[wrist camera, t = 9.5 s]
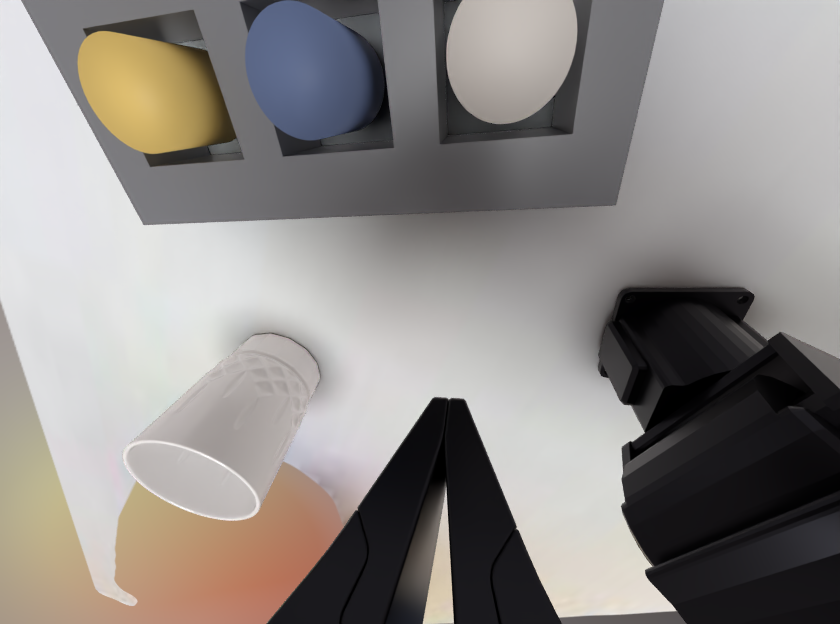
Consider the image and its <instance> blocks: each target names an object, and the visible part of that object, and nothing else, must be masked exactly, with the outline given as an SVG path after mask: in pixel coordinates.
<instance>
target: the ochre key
mask: <svg viewBox="0 0 840 624" xmlns="http://www.w3.org/2000/svg"><path fill="white" fill-rule="evenodd" d="M78 73H79V79H80V82H81V86H82V88H83V91H84V94H85V96H86V98H87V100H88V102H89V104H90V106H91V107H92V109H93V111H94V112H95V114H96V115H97V117H98V118H99V119H100V121H101V122H102V123H103V124H104V126H105V127H106V128H107V129H108V130H109V131H110V132H111V133H112V134H113V135H114V136H115V137H117V138H118V139H119V140H120V141H122V142H123V143H125V144H126V145H128V146H130V147H131V148H133V149H135V150H138V151H141V152H144V153H149V154H158V153H164V152H171V151H177V150H183V149H189V148H196V147H202V146H208V145H214V144H221V143H227V142H230V141H233V140H234V139H236V138H237V136H236V133H235V130H234V127H233V124H232V121H231V118H230V116H229V113H228V110H227V107H226V104H225V101H224V98H223V95H222V92H221V89H220V86H219V83H218V80H217V77H216V74H215V71H214V68H213V65H212V63H211V60H210V57H209V54H208V51H206V50H202V49H198V48H193V47H188V46H183V45H178V44H173V43H167V42H162V41H157V40H152V39H147V38H142V37H136V36H131V35H126V34H121V33H116V32H110V31H98V32H95V33H92V34H91V35H89V36H88V37H87V38H86V39H84V41H83V43H82V44H81V46H80V49H79V53H78Z"/></svg>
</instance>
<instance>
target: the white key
mask: <svg viewBox="0 0 840 624" xmlns="http://www.w3.org/2000/svg"><path fill="white" fill-rule="evenodd" d="M576 42H577V18H576V11H575V7H574V3H573V0H462V2H461V3H460V5H459V7H458V9H457V11H456V13H455V16H454V18H453V21H452V24H451V27H450V31H449V35H448V41H447V49H446V61H447V71H448V76H449V80H450V83H451V86H452V89H453V91H454V93H455V95H456V97H457V98H458V100H459V102H460V103H461V104H462V105H463V107H464V108H465V109H466V110H467V111H468V112H469V113H471V114H472V115H474V116H475V117H476V118H478V119H481V120H483V121H486V122H489V123H494V124H508V123H514V122H517V121H520V120H523V119H525V118H527V117H529V116H531V115H533V114H534V113H536V112H537V111H538V110H540V109H541V108H542V107H544V106H545V105H546V104H547V103H548V102H549V101H550V100H551V98H552V97H553V96H554V95H555V94H556V92H557V91H558V89H559V88H560V86H561V85H562V83H563V81H564V79H565V78H566V76H567V74H568V71H569V69H570V66H571V64H572V60H573V57H574V53H575V48H576Z"/></svg>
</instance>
